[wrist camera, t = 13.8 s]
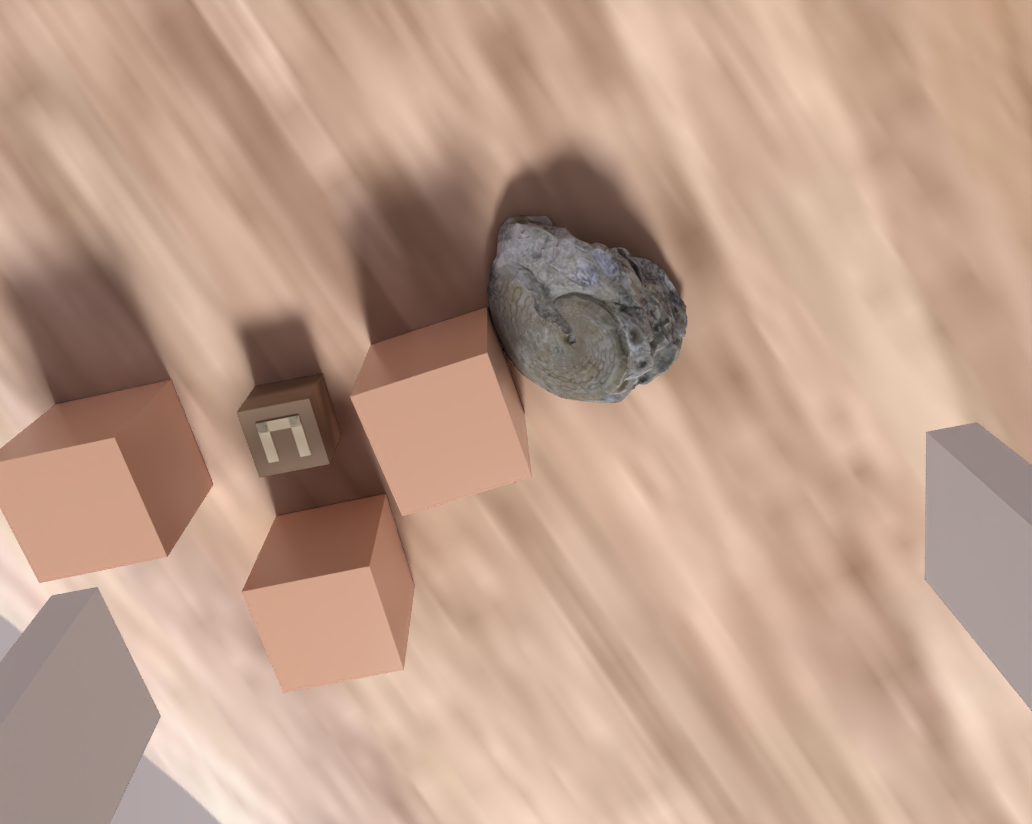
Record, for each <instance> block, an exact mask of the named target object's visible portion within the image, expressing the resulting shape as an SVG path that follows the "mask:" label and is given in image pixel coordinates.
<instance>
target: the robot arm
mask: <svg viewBox="0 0 1032 824" xmlns="http://www.w3.org/2000/svg"><path fill="white" fill-rule="evenodd" d="M925 580H926V582H927V583H928V584H929V585H930V586H931V588H932V589H933V590H934V591H935V593H936V594H937V595H938V596H939V598H940V599H941V600H942V601H943V602H944V604H945V605H946V606H947V607H948V609H949V610H950V611H951V612H952V614H953V615H954V616H955V617H956V618H957V620H958V621H959V622H960V623H961V625H962V626H963V627H964V628H965V629H966V631H967V632H968V633H969V634H970V636H971V637H972V638H973V639H974V641H975V642H976V643H977V644H978V645H979V647H980V648H981V649H982V650H983V652H984V653H985V654H986V655H987V657H988V658H989V659H990V660H991V661H992V663H993V664H994V665H995V666H996V668H997V669H998V670H999V671H1000V673H1001V674H1002V675H1003V676H1004V677H1005V679H1006V680H1007V681H1008V682H1009V684H1010V685H1011V686H1012V687H1013V689H1014V690H1015V691H1016V692H1017V693H1018V695H1019V696H1020V697H1021V698H1022V700H1023V701H1024V702H1025V703H1026V705H1027V706H1028V707H1029V708H1030V709H1031V711H1032V465H1031V464H1029V463H1028V462H1027V461H1026V460H1024V459H1023V458H1022V457H1021V456H1019V455H1018V454H1017V453H1015V452H1014V451H1013V450H1012V449H1010V448H1009V447H1008V446H1006V445H1005V444H1004V443H1003V442H1001V441H1000V440H999V439H998V438H996V437H995V436H994V435H992V434H991V433H990V432H989V431H987V430H986V429H985V428H983V427H982V426H981V425H980V424H978V423H971V424H966V425H961V426H955V427H950V428H945V429H939V430H934V431H929V432H926V504H925ZM160 717H161V716H160V714H159V711H158V709H157V707H156V705H155V703H154V701H153V699H152V697H151V695H150V693H149V691H148V689H147V687H146V685H145V683H144V681H143V679H142V677H141V675H140V673H139V671H138V669H137V667H136V665H135V662H134V660H133V658H132V656H131V654H130V652H129V650H128V648H127V646H126V644H125V642H124V640H123V638H122V636H121V634H120V632H119V630H118V628H117V626H116V624H115V622H114V620H113V618H112V616H111V613H110V611H109V609H108V607H107V605H106V603H105V601H104V599H103V597H102V595H101V593H100V591H99V589H98V587H95V588H90V589H85V590H79V591H74V592H69V593H63V594H58V595H53V596H51V597H50V598H49V600H48V601H47V602H46V604H45V605H44V606H43V607H42V609H41V610H40V611H39V613H38V614H37V615H36V616H35V618H34V619H33V620H32V622H31V623H30V624H29V626H28V627H27V628H26V629H25V631H24V632H23V633H22V635H21V636H20V637H19V639H18V640H17V641H16V643H15V644H14V645H13V646H12V648H11V649H10V650H9V652H8V653H7V654H6V656H5V657H4V658H3V659H2V661H1V662H0V824H110V822H111V820H112V818H113V816H114V814H115V812H116V810H117V807H118V805H119V803H120V801H121V799H122V797H123V795H124V793H125V791H126V789H127V786H128V784H129V782H130V780H131V778H132V776H133V774H134V772H135V769H136V767H137V765H138V763H139V761H140V759H141V757H142V755H143V753H144V751H145V748H146V746H147V744H148V742H149V740H150V738H151V736H152V734H153V732H154V729H155V727H156V725H157V723H158V721H159V719H160Z"/></svg>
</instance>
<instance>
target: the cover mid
mask: <svg viewBox="0 0 1032 824" xmlns="http://www.w3.org/2000/svg"><path fill="white" fill-rule="evenodd" d="M414 588H415V586H414V583H413V580H412V576H411V573H410V570H409V567H408V564H407V560H406V557H405V554H404V551H403V547H402V544H401V541H400V538H399V534H398V531H397V528H396V525H395V522H394V518H393V515H392V512H391V509H390V505H389V502H388V499H387V496H386V494H382V495H377V496H372V497H367V498H362V499H357V500H353V501H348V502H343V503H338V504H333V505H328V506H323V507H318V508H313V509H309V510H304V511H299V512H294V513H289V514H284V515H279V516H276V518H275V520H274V522H273V524H272V527H271V529H270V531H269V533H268V535H267V538H266V540H265V542H264V544H263V546H262V549H261V551H260V553H259V555H258V557H257V560H256V562H255V564H254V566H253V568H252V571H251V573H250V575H249V577H248V579H247V582H246V584H245V586H244V588H243V590H242V593H243V596H244V598H245V601H246V603H247V606H248V608H249V610H250V613H251V615H252V618H253V620H254V623H255V625H256V628H257V630H258V633H259V635H260V637H261V640H262V642H263V645H264V647H265V650H266V652H267V655H268V657H269V659H270V662H271V664H272V667H273V669H274V672H275V674H276V677H277V679H278V681H279V684H280V686H281V689H282V691H283V693H286V692H291V691H296V690H301V689H306V688H311V687H317V686H322V685H327V684H332V683H337V682H342V681H348V680H353V679H358V678H363V677H368V676H373V675H378V674H384V673H389V672H394V671H399V670H404V664H405V656H406V648H407V641H408V633H409V626H410V618H411V610H412V603H413V595H414Z"/></svg>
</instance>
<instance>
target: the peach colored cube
mask: <svg viewBox="0 0 1032 824" xmlns="http://www.w3.org/2000/svg"><path fill="white" fill-rule="evenodd" d="M350 398H351V400H352V403H353V405H354V407H355V409H356V412H357V414H358V416H359V419H360V421H361V423H362V425H363V428H364V430H365V432H366V435H367V437H368V439H369V441H370V444H371V446H372V448H373V451H374V453H375V455H376V457H377V460H378V462H379V464H380V467H381V469H382V471H383V473H384V476H385V478H386V480H387V483H388V485H389V487H390V489H391V492H392V494H393V496H394V498H395V501H396V503H397V505H398V508H399V510H400V512H401V514H402V516H405V515H409V514H412V513H415V512H419V511H422V510H425V509H428V508H432V507H435V506H438V505H441V504H445V503H448V502H451V501H454V500H458V499H461V498H464V497H467V496H471V495H474V494H477V493H481V492H484V491H487V490H490V489H494V488H497V487H500V486H503V485H507V484H510V483H513V482H516V481H520V480H523V479H526V478H530V477H532V474H531V465H530V456H529V447H528V438H527V430H526V421H525V414H524V411H523V408H522V406H521V403H520V400H519V397H518V394H517V391H516V388H515V386H514V383H513V380H512V377H511V374H510V371H509V369H508V366H507V363H506V360H505V357H504V354H503V351H502V349H501V346H500V343H499V340H498V337H497V334H496V332H495V329H494V326H493V323H492V320H491V317H490V314H489V312H488V309H487V307H485V308H482V309H479V310H476V311H473V312H470V313H467V314H464V315H460V316H457V317H454V318H451V319H448V320H445V321H442V322H439V323H436V324H433V325H430V326H427V327H424V328H421V329H418V330H415V331H412V332H409V333H405V334H402V335H399V336H396V337H393V338H390V339H387V340H384V341H381V342H378V343H375V344H372V345H370V348H369V350H368V353H367V355H366V358H365V361H364V363H363V366H362V368H361V371H360V373H359V376H358V378H357V381H356V383H355V386H354V388H353V391H352V393H351V396H350Z"/></svg>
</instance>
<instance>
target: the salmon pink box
mask: <svg viewBox="0 0 1032 824" xmlns="http://www.w3.org/2000/svg"><path fill="white" fill-rule="evenodd" d="M212 486H213V483H212V481H211V478H210V476H209V473H208V471H207V468H206V466H205V463H204V461H203V458H202V456H201V453H200V451H199V448H198V446H197V443H196V441H195V438H194V436H193V433H192V431H191V428H190V426H189V423H188V421H187V418H186V416H185V413H184V411H183V408H182V406H181V403H180V401H179V398H178V396H177V393H176V391H175V388H174V386H173V383H172V381H171V380H167V381H162V382H157V383H153V384H148V385H143V386H139V387H134V388H130V389H125V390H120V391H116V392H111V393H106V394H102V395H97V396H92V397H88V398H83V399H78V400H74V401H69V402H64V403H60V404H55V405H54V406H53V407H52V408H50V409H49V410H48V411H47V412H45V413H44V414H43V415H42V416H40V417H39V418H38V419H37V420H35V421H34V422H33V423H32V424H31V425H29V426H28V427H27V428H26V429H24V430H23V431H22V432H21V433H19V434H18V435H17V436H16V437H14V438H13V439H12V440H11V441H9V442H8V443H7V444H6V445H4V446H3V447H2V448H1V449H0V508H1V510H2V512H3V514H4V516H5V518H6V520H7V522H8V524H9V526H10V528H11V529H12V531H13V533H14V535H15V537H16V539H17V541H18V543H19V545H20V547H21V549H22V551H23V552H24V554H25V556H26V558H27V560H28V562H29V564H30V566H31V568H32V570H33V572H34V574H35V575H36V577H37V579H38V581H39V583H42V582H47V581H52V580H57V579H62V578H66V577H71V576H76V575H81V574H86V573H91V572H96V571H101V570H106V569H110V568H115V567H120V566H125V565H130V564H135V563H140V562H145V561H150V560H155V559H159V558H164V557H168V555H169V553H170V552H171V550H172V549H173V547H174V546H175V544H176V542H177V541H178V539H179V538H180V536H181V535H182V533H183V531H184V530H185V528H186V527H187V525H188V524H189V522H190V520H191V519H192V517H193V516H194V514H195V513H196V511H197V509H198V508H199V506H200V505H201V503H202V502H203V500H204V498H205V497H206V495H207V494H208V492H209V491H210V489H211V487H212Z"/></svg>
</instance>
